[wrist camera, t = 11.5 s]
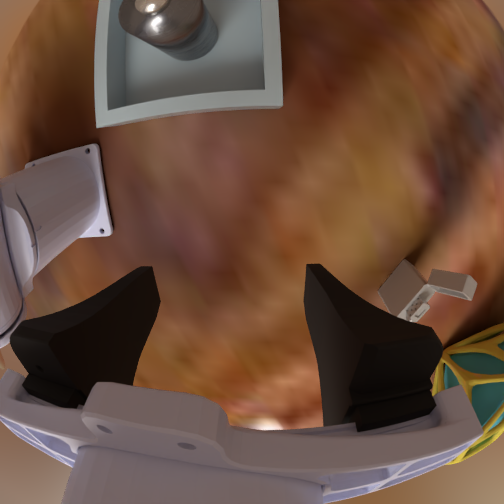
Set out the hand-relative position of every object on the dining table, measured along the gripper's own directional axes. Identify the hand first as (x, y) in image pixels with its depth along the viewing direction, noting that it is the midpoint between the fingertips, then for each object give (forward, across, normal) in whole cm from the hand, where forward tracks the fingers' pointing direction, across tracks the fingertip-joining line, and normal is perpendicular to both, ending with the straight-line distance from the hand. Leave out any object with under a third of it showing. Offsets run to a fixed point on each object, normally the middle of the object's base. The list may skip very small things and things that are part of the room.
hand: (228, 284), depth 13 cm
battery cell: (+9, +3, -14) cm, 17 cm away
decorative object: (+10, -31, +20) cm, 38 cm away
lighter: (+10, -15, +5) cm, 18 cm away
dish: (+9, +3, -14) cm, 17 cm away
